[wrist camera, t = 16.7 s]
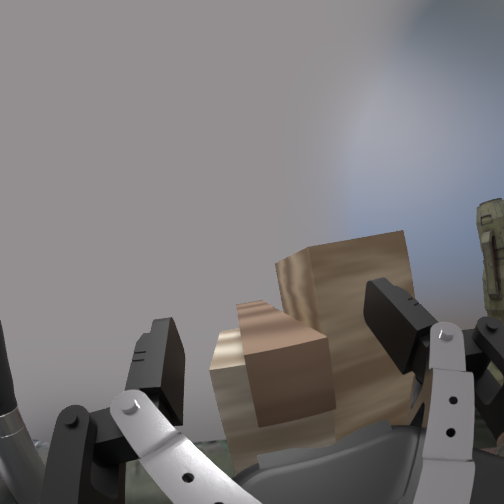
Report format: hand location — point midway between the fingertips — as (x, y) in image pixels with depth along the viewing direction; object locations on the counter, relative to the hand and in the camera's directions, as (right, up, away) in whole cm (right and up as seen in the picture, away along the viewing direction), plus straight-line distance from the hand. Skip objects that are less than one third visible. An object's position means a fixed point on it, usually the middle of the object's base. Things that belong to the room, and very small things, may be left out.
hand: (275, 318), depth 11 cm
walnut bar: (0, -5, +10) cm, 11 cm away
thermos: (+45, -24, +19) cm, 54 cm away
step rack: (+8, -29, +13) cm, 33 cm away
